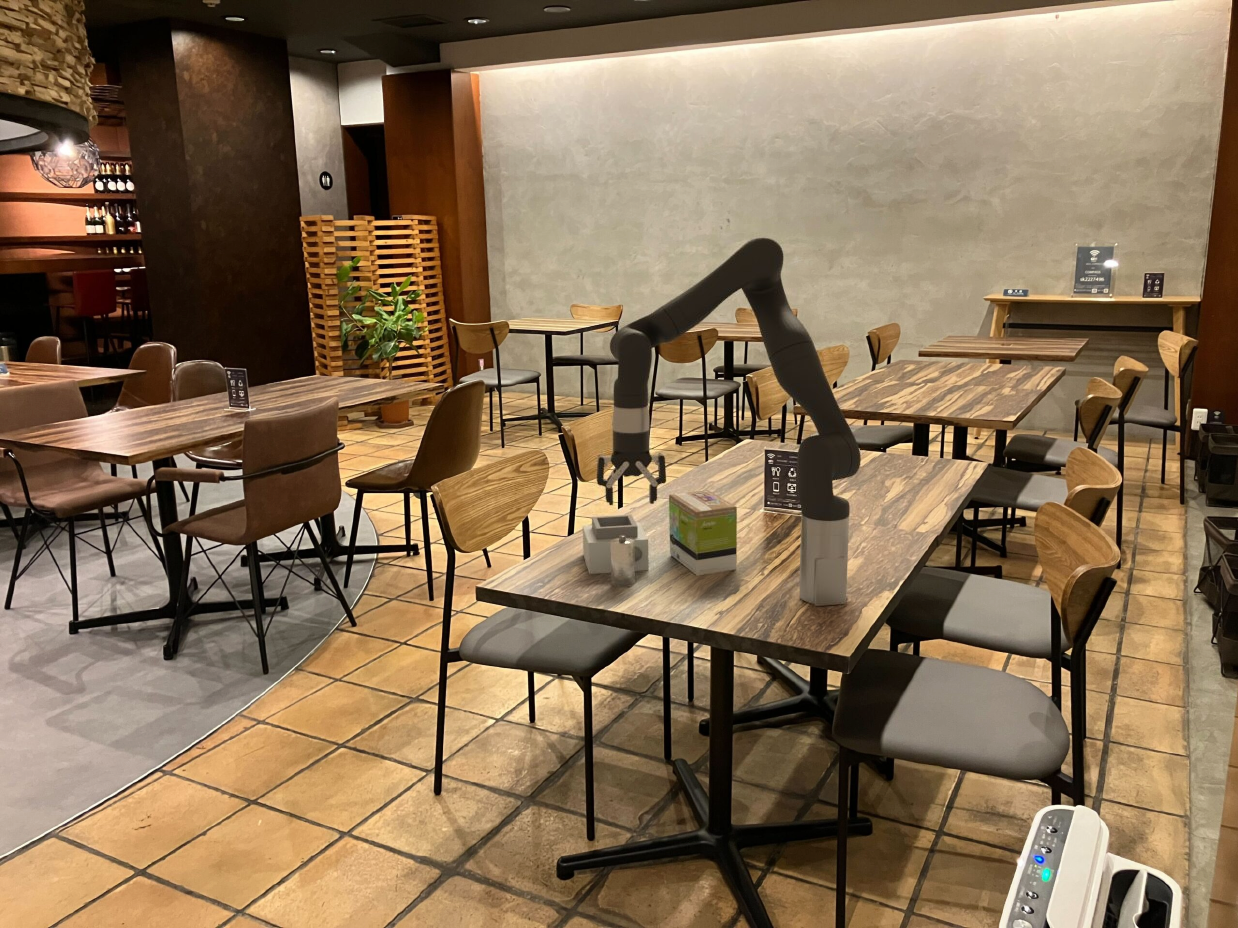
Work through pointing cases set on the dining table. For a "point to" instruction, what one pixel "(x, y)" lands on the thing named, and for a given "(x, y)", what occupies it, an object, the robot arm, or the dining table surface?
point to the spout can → (622, 561)
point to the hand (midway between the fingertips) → (631, 503)
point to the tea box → (703, 532)
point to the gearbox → (607, 530)
